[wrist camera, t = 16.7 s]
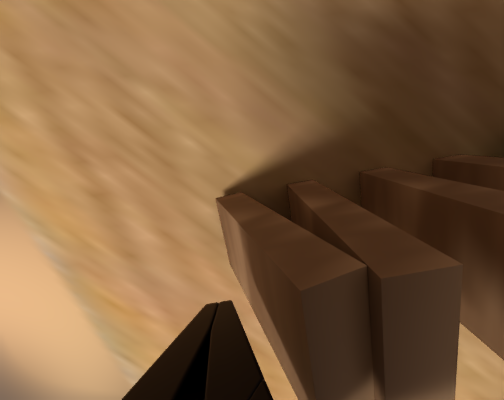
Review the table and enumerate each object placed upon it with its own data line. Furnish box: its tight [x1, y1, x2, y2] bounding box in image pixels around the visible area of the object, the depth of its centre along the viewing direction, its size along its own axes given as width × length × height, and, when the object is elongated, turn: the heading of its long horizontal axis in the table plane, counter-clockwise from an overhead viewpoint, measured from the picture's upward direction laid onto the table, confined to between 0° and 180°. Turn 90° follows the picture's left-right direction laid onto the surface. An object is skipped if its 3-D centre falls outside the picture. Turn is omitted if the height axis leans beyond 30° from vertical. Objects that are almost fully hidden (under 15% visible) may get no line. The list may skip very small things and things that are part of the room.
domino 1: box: [216, 192, 375, 400], centre depth 10 cm, size 2×4×10 cm, turn 9°
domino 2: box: [287, 180, 463, 400], centre depth 10 cm, size 2×4×10 cm, turn 10°
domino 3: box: [359, 167, 504, 360], centre depth 10 cm, size 2×4×10 cm, turn 10°
